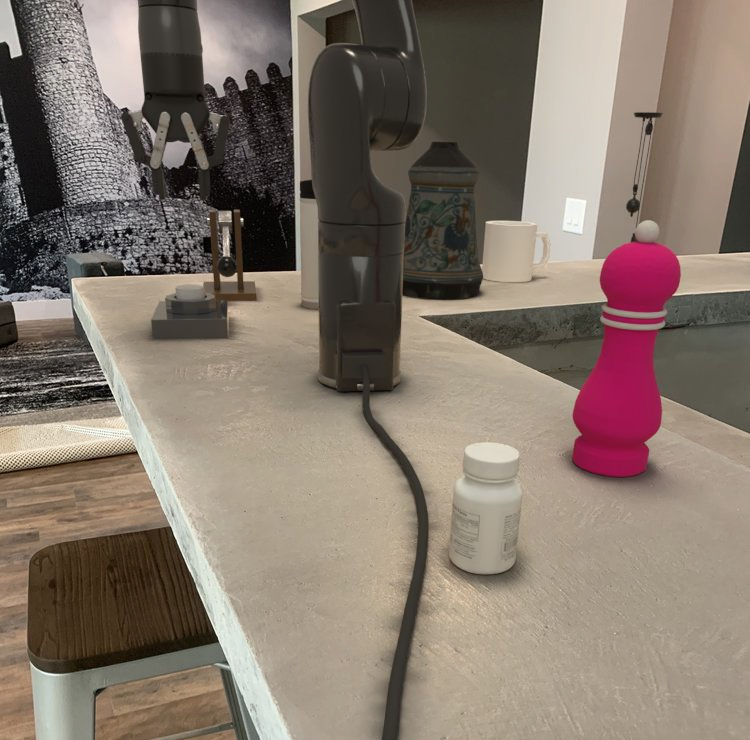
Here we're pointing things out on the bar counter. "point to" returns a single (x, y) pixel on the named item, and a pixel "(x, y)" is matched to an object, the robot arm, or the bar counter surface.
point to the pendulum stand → (237, 288)
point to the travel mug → (309, 246)
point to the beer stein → (441, 226)
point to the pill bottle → (486, 509)
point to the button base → (190, 318)
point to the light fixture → (633, 203)
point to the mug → (512, 251)
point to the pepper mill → (626, 359)
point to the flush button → (190, 292)
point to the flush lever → (226, 245)
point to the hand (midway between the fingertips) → (183, 199)
